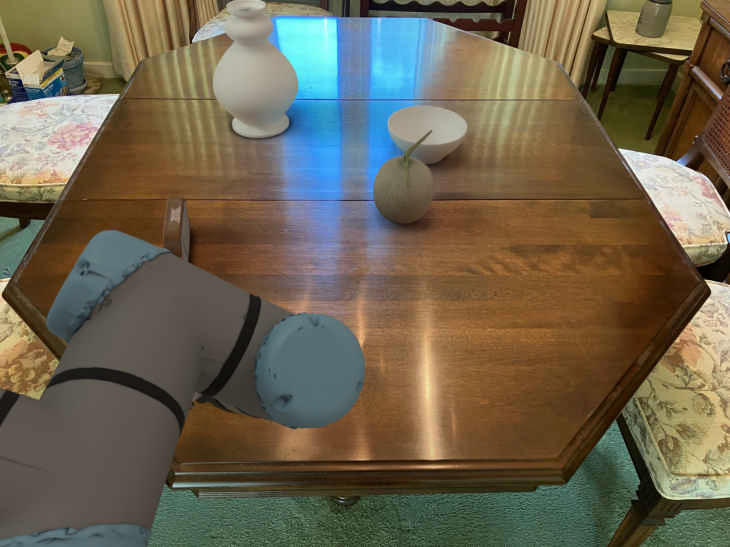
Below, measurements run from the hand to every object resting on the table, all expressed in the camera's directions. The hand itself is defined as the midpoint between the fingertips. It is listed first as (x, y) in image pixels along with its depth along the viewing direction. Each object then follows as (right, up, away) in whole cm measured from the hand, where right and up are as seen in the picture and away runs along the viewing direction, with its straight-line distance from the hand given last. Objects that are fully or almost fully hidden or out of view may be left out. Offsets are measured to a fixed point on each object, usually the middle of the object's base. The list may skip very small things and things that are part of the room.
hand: (193, 371), depth 68 cm
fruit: (+28, +22, +30) cm, 47 cm away
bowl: (+34, +37, +46) cm, 68 cm away
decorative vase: (-2, +45, +55) cm, 71 cm away
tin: (-9, +15, +22) cm, 28 cm away
